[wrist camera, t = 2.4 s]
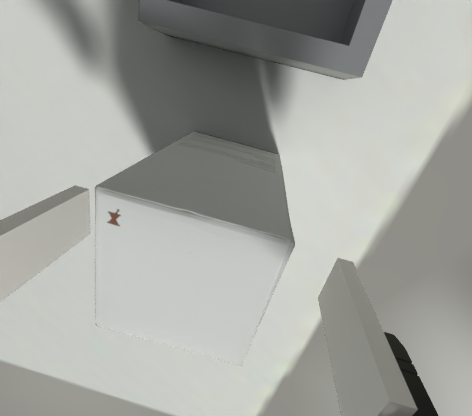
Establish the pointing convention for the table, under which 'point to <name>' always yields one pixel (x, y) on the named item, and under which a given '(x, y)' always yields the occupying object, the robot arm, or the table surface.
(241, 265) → the supplement box
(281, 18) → the box
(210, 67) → the table surface
